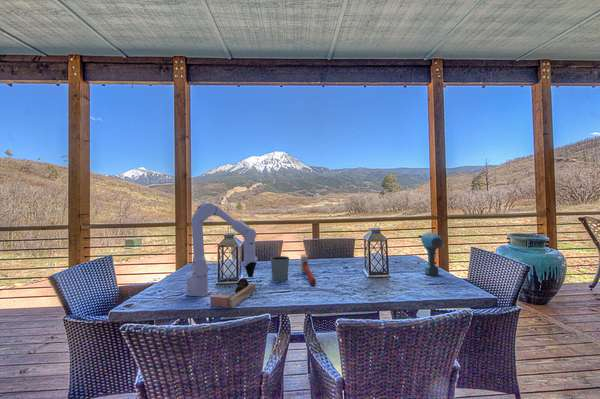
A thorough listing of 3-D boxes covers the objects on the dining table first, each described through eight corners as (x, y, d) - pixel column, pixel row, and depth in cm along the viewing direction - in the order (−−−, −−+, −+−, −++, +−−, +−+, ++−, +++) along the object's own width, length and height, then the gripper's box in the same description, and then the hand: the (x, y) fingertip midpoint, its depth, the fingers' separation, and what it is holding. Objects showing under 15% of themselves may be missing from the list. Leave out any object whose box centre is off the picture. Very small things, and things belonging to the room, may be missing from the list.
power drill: (412, 266, 190) (411, 229, 189) (426, 266, 189) (425, 229, 189) (430, 279, 162) (429, 235, 161) (447, 278, 161) (446, 235, 161)
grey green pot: (267, 279, 169) (267, 257, 169) (281, 275, 176) (281, 255, 176) (278, 283, 161) (278, 260, 161) (293, 279, 168) (292, 257, 168)
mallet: (316, 273, 155) (306, 253, 184) (310, 274, 154) (300, 254, 184) (316, 293, 157) (306, 270, 186) (309, 293, 156) (300, 270, 185)
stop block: (210, 306, 130) (210, 296, 130) (214, 303, 133) (214, 294, 133) (227, 307, 128) (227, 298, 128) (231, 304, 131) (230, 295, 131)
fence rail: (228, 307, 128) (228, 299, 128) (251, 290, 150) (251, 283, 150) (232, 307, 127) (232, 299, 127) (255, 290, 149) (255, 283, 149)
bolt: (237, 302, 140) (241, 290, 155) (246, 296, 140) (250, 285, 155) (230, 291, 139) (235, 281, 154) (240, 285, 139) (244, 275, 154)
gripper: (250, 254, 151) (251, 281, 151) (262, 248, 165) (262, 273, 165) (237, 253, 153) (238, 280, 153) (250, 248, 167) (251, 273, 167)
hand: (250, 276), depth 159 cm, fingers closed
